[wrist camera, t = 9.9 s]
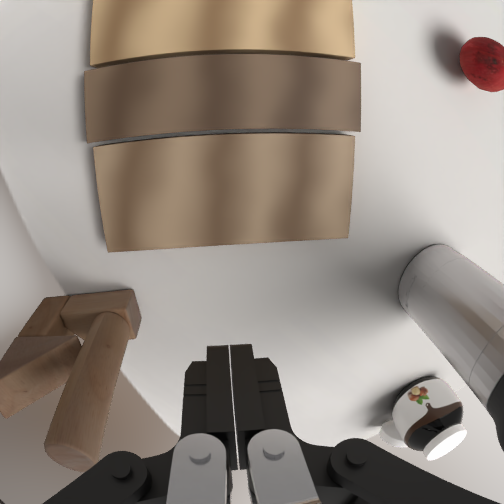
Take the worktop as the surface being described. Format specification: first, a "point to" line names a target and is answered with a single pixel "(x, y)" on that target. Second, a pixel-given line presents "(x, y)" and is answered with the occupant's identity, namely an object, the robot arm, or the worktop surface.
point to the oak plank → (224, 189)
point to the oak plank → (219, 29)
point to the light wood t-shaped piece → (71, 368)
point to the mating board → (221, 95)
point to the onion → (483, 63)
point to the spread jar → (426, 418)
